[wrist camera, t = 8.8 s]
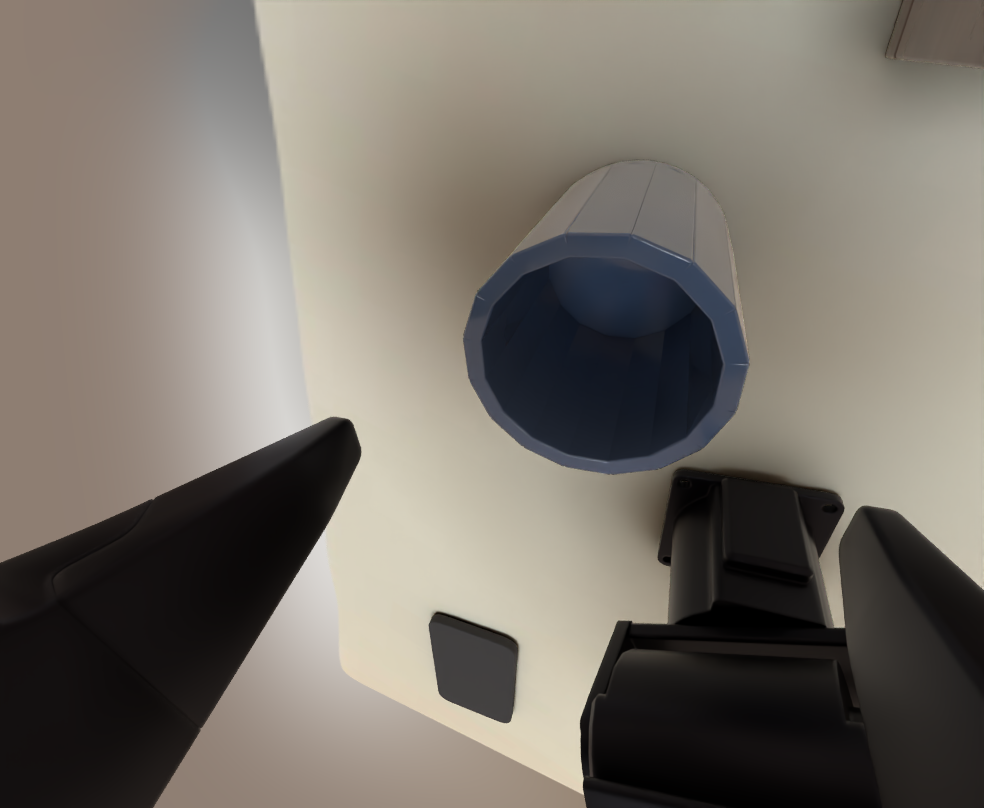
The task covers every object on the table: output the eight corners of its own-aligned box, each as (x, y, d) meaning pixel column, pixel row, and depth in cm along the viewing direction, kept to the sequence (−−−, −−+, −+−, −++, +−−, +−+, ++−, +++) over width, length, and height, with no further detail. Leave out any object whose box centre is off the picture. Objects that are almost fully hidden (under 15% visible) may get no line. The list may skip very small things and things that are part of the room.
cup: (710, 347, 17) (714, 494, 12) (542, 333, 19) (478, 452, 14) (751, 155, 14) (785, 236, 8) (537, 162, 16) (446, 231, 10)
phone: (516, 650, 35) (510, 726, 44) (520, 640, 36) (513, 717, 45) (426, 618, 37) (438, 697, 46) (431, 608, 37) (442, 688, 47)
